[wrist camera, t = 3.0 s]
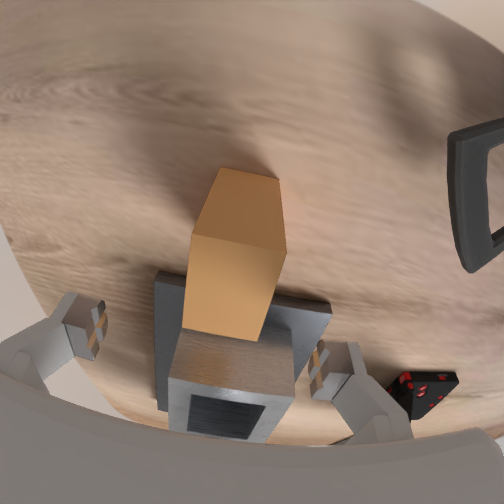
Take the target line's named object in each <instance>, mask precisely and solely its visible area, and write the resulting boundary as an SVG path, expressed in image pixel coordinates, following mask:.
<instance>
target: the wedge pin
mask: <svg viewBox="0 0 504 504" xmlns="http://www.w3.org/2000/svg"><path fill="white" fill-rule="evenodd" d="M286 254H287V249H286V239H285V229H284V219H283V210H282V201H281V192H280V183H279V179H276V178H272V177H267V176H263V175H258V174H254V173H249V172H244V171H239V170H234V169H229V168H224V167H220V169H219V172H218V174H217V176H216V178H215V181H214V183H213V185H212V187H211V190H210V192H209V194H208V197H207V199H206V201H205V203H204V206H203V208H202V210H201V213H200V215H199V218H198V220H197V222H196V225H195V227H194V229H193V232H192V235H191V244H190V252H189V261H188V270H187V279H186V289H185V299H184V310H183V322H182V328H187V329H192V330H197V331H201V332H206V333H212V334H217V335H222V336H227V337H233V338H239V339H244V340H250V341H256V342H257V340H258V337H259V334H260V332H261V329H262V326H263V323H264V320H265V317H266V314H267V311H268V308H269V305H270V302H271V300H272V297H273V294H274V291H275V288H276V285H277V282H278V279H279V276H280V273H281V270H282V266H283V263H284V260H285V257H286Z"/></svg>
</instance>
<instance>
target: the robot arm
mask: <svg viewBox="0 0 504 504" xmlns="http://www.w3.org/2000/svg"><path fill="white" fill-rule="evenodd" d="M105 308H106V307H105V302H104V301H103V300H101V299H97V298H94V297H90V296H87V295H83V294H79V293H76V292H72V291H68V292H66V294H65V295H64V297H63V298H62V300H61V301H60V303H59V304H58V306H57V307H56V309H55V310H54V312H53V313H52V315H51V317H50V318H49V319H48V318H45V319H43V320H41V321H40V322H38V323H36V324H34V325H32V326H30V327H28V328H26V329H24V330H22V331H21V332H19V333H17V334H15V335H13V336H11V337H9V338H8V339H6V340H4V341H2V342H1V343H0V504H504V456H503V453H502V450H501V448H500V446H499V445H498V444H497V443H496V442H495V441H494V440H493V439H492V438H491V437H490V436H489V435H488V434H487V433H486V432H485V431H484V430H483V429H481V428H479V427H473V428H468V429H464V430H460V431H455V432H450V433H445V434H440V435H434V436H429V437H422V438H416V439H414V437H413V433H412V429H411V425H410V422H409V418H408V414H407V412H406V411H405V410H404V409H403V408H402V407H401V406H400V405H399V404H398V403H397V402H396V401H395V400H394V399H393V398H392V397H391V396H390V395H389V394H388V393H387V392H386V391H385V390H384V389H383V388H382V387H381V386H380V385H379V384H378V382H377V381H376V380H375V379H374V378H373V377H372V376H370V375H367V371H366V368H365V364H364V360H363V357H362V353H361V350H360V346H359V344H358V343H357V342H345V341H336V340H326V339H321V340H320V341H319V342H318V344H317V351H315V352H313V353H312V355H311V357H310V360H309V365H308V372H309V376H310V377H311V379H312V380H313V381H312V382H311V384H310V390H311V399H317V400H331V402H332V403H333V405H334V406H335V407H336V409H337V410H338V412H339V413H340V414H341V416H342V417H343V419H344V420H345V422H346V423H347V424H348V426H349V427H350V429H351V430H352V432H353V433H354V434H355V435H354V436H353V437H352V438H351V439H350V440H348V441H347V442H346V443H345V445H325V446H309V445H279V444H263V443H251V442H241V441H232V440H224V439H217V438H210V437H203V436H197V435H191V434H185V433H180V432H175V431H170V430H165V429H160V428H156V427H152V426H147V425H143V424H139V423H135V422H131V421H127V420H124V419H120V418H117V417H113V416H110V415H107V414H103V413H100V412H97V411H94V410H91V409H87V408H85V407H82V406H79V405H76V404H73V403H70V402H68V401H65V400H62V399H60V398H57V397H55V396H52V395H50V393H49V391H48V389H47V387H46V385H45V384H44V382H43V381H44V380H45V379H46V378H48V377H49V376H50V375H51V374H53V373H54V372H55V371H57V370H58V369H59V368H60V367H62V366H63V365H64V364H66V363H67V362H68V361H69V360H71V359H72V358H73V357H74V356H78V357H81V358H85V359H88V360H92V361H94V359H95V357H96V354H97V352H98V350H99V344H98V342H99V341H101V340H103V339H104V336H105V334H106V330H107V324H108V320H107V316H106V314H105V313H104V310H105Z"/></svg>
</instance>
